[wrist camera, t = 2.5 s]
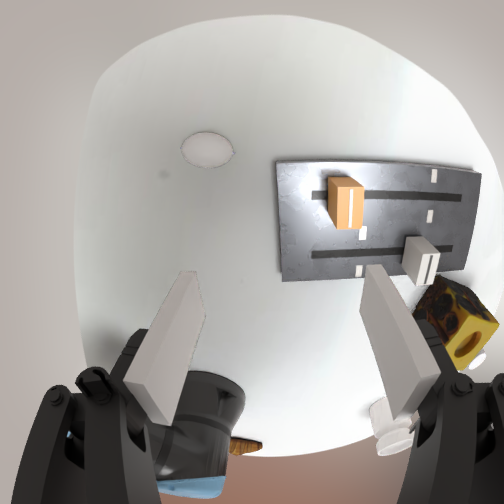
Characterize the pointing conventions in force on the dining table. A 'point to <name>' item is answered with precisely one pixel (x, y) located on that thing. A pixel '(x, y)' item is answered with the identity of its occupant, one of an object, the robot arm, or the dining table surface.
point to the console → (373, 216)
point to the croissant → (243, 446)
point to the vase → (389, 429)
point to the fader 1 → (345, 202)
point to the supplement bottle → (477, 359)
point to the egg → (207, 150)
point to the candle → (456, 319)
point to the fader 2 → (420, 260)
